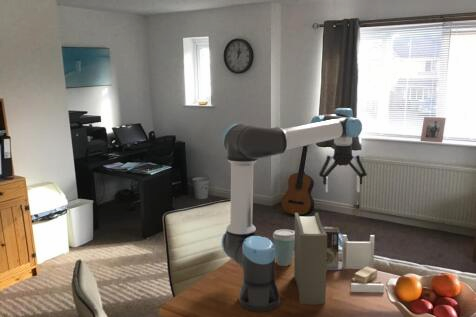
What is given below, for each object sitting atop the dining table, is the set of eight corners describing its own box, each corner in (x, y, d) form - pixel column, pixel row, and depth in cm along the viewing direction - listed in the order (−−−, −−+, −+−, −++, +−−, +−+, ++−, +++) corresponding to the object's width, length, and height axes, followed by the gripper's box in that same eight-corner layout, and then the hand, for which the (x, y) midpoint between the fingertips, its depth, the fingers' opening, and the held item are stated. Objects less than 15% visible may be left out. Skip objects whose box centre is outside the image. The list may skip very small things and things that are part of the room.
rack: (350, 291, 158) (351, 255, 155) (341, 267, 178) (342, 234, 175) (384, 292, 157) (386, 255, 154) (372, 268, 177) (373, 235, 174)
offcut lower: (356, 291, 159) (356, 284, 159) (351, 285, 164) (351, 278, 163) (381, 289, 160) (381, 282, 160) (375, 282, 165) (375, 276, 165)
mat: (317, 269, 176) (317, 268, 176) (315, 259, 186) (315, 258, 186) (341, 270, 176) (341, 269, 175) (338, 260, 185) (338, 258, 185)
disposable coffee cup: (269, 260, 187) (268, 228, 184) (290, 256, 190) (290, 225, 187) (278, 270, 177) (278, 237, 174) (300, 266, 180) (301, 234, 177)
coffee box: (338, 261, 183) (339, 226, 180) (338, 267, 177) (339, 232, 174) (317, 259, 185) (317, 225, 182) (316, 266, 179) (317, 230, 176)
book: (325, 305, 150) (327, 234, 144) (299, 305, 150) (300, 234, 144) (316, 276, 171) (318, 212, 165) (294, 276, 171) (294, 212, 165)
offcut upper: (365, 284, 158) (365, 277, 158) (354, 280, 162) (354, 273, 161) (376, 276, 164) (377, 269, 164) (366, 272, 168) (366, 266, 167)
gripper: (314, 146, 176) (314, 193, 180) (374, 145, 173) (373, 193, 177) (313, 143, 183) (313, 189, 187) (370, 142, 180) (369, 188, 185)
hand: (342, 191), depth 182 cm, fingers open, 13 cm apart
